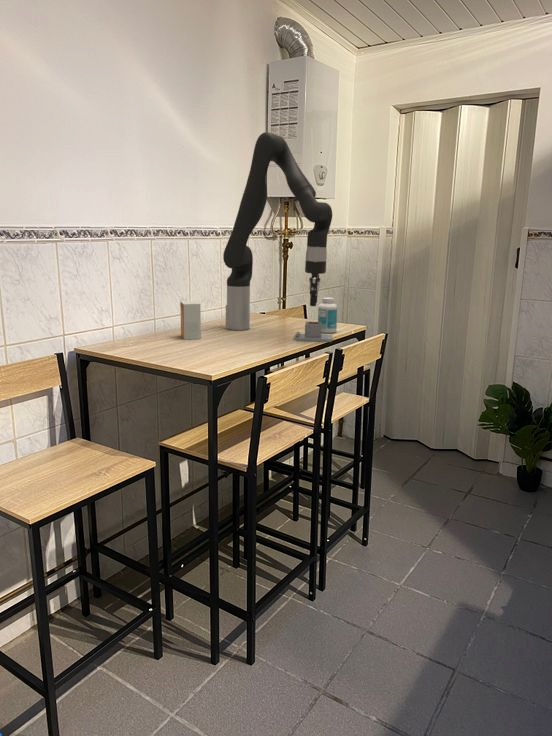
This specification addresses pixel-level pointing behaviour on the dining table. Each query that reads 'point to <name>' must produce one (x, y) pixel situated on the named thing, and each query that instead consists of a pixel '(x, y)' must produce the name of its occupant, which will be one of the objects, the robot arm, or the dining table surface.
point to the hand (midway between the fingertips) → (313, 304)
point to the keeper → (323, 338)
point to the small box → (190, 320)
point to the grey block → (313, 329)
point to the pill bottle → (328, 315)
